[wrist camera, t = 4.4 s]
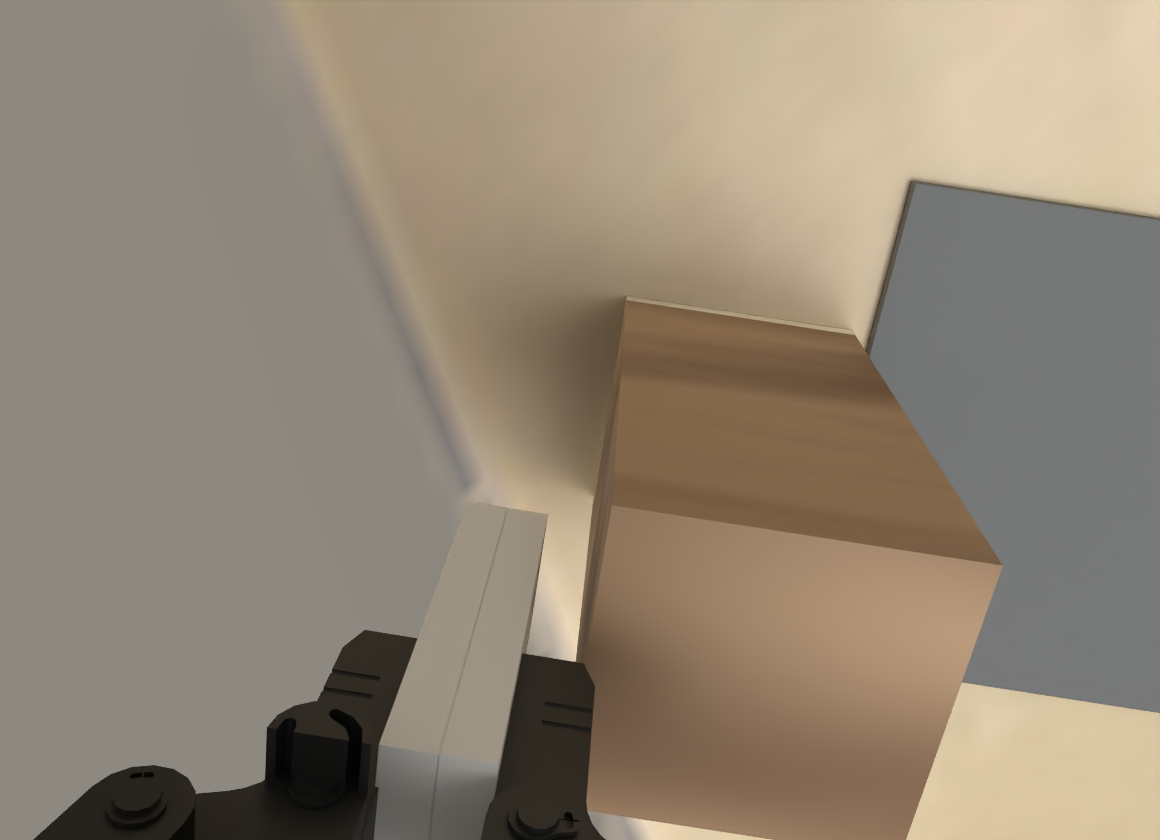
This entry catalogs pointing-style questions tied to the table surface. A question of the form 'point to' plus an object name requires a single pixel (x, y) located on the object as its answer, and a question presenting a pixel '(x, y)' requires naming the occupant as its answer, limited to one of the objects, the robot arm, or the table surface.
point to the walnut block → (770, 584)
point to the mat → (1040, 424)
